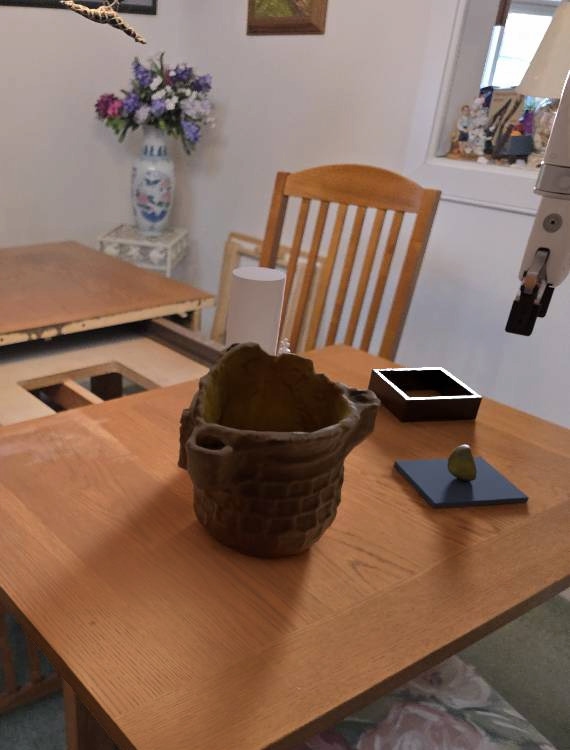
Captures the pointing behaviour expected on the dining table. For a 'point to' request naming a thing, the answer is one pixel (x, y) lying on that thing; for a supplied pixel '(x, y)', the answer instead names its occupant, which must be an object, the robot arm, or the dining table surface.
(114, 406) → the dining table surface
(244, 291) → the cylindrical container
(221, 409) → the ceramic vessel
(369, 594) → the dining table surface
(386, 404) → the basin
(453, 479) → the mat
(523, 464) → the dining table surface
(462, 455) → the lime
